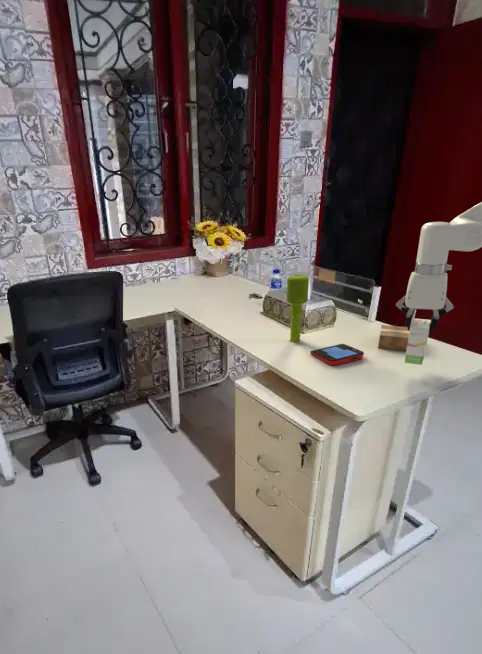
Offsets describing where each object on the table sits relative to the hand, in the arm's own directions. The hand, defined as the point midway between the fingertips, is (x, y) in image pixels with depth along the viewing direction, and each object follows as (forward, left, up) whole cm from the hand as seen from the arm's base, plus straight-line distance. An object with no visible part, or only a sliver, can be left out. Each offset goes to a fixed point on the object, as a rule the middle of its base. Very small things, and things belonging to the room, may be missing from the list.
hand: (420, 329), depth 124 cm
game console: (+24, -6, -15) cm, 28 cm away
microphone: (+41, -16, -15) cm, 46 cm away
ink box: (0, 0, -10) cm, 10 cm away
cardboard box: (+6, -23, -15) cm, 28 cm away
